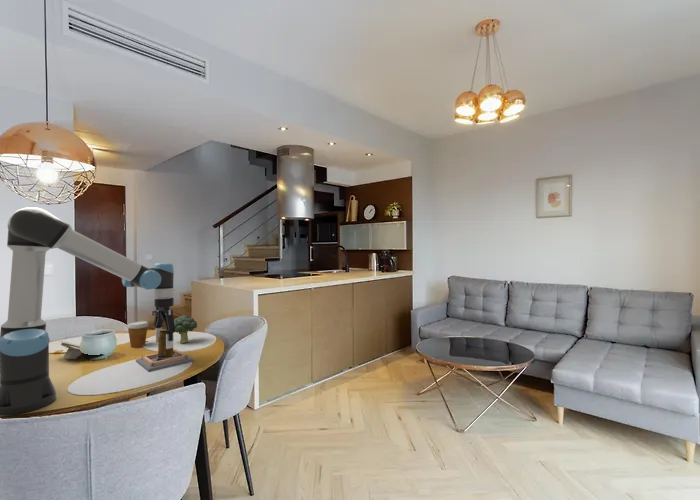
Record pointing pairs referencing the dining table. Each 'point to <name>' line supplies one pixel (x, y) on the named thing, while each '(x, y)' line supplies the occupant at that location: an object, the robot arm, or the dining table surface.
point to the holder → (163, 361)
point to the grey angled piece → (71, 350)
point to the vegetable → (184, 326)
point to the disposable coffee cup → (137, 333)
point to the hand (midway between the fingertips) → (164, 345)
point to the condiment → (164, 347)
